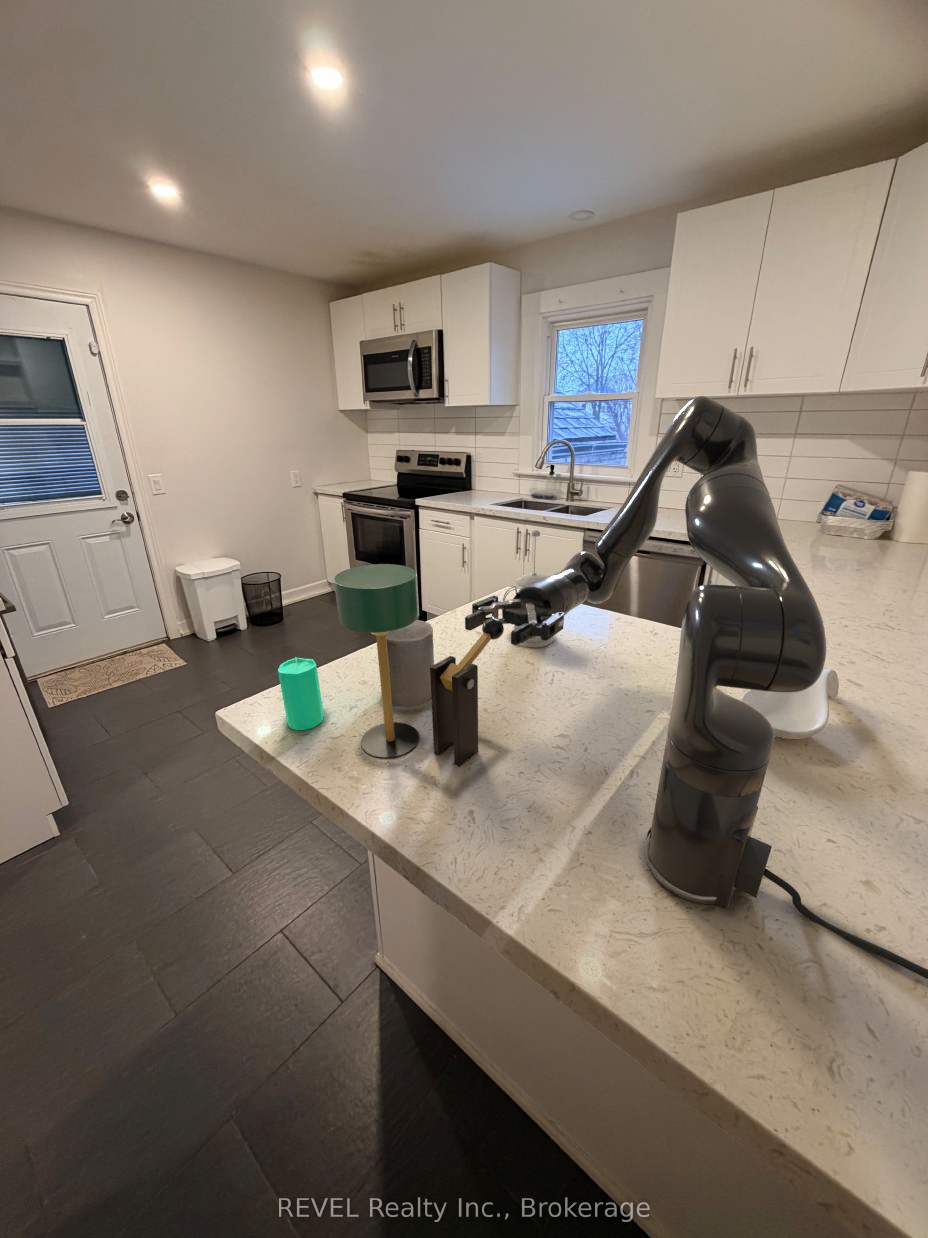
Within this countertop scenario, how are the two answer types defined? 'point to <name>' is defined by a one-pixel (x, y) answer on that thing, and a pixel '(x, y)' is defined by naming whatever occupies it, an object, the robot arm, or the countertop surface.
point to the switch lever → (474, 650)
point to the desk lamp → (380, 638)
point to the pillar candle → (410, 663)
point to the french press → (523, 582)
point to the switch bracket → (455, 711)
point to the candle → (301, 693)
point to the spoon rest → (796, 707)
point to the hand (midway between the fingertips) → (489, 631)
